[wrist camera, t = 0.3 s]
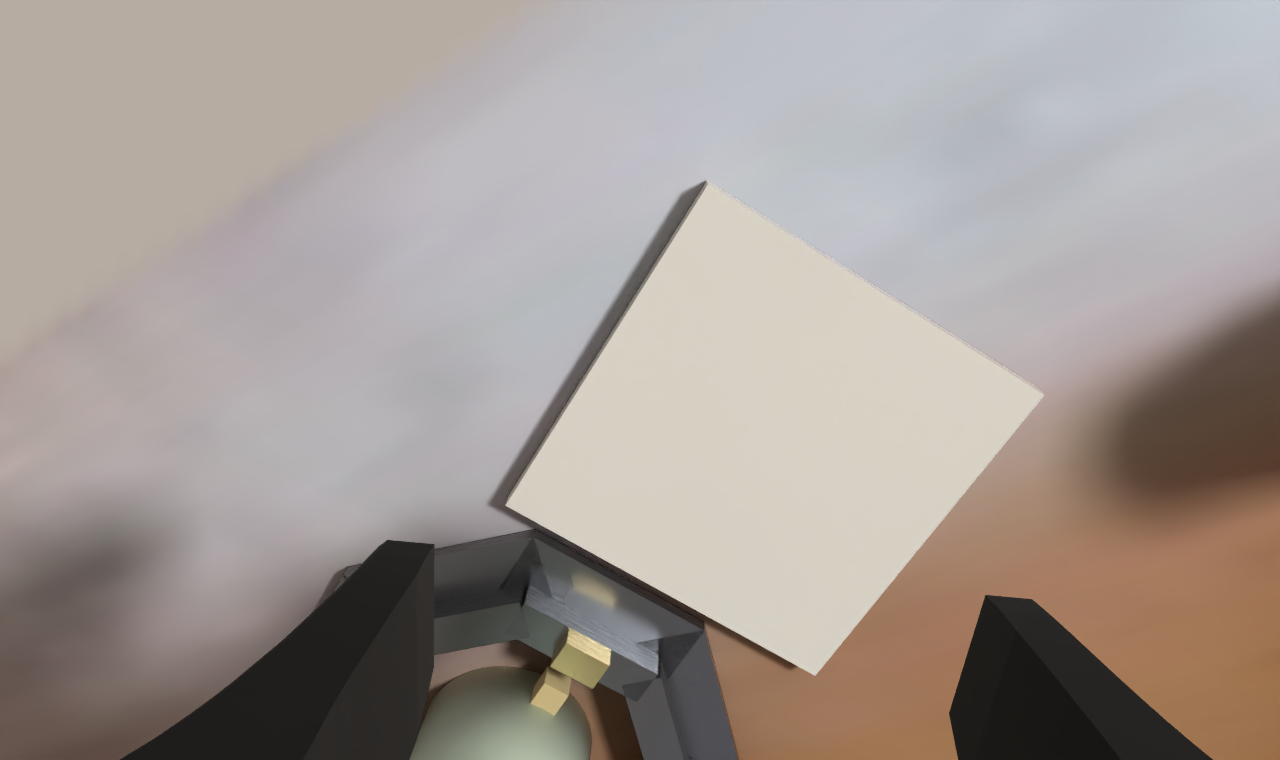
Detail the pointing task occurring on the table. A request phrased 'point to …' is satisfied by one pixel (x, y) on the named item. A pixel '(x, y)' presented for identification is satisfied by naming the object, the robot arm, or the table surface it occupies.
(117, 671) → the table surface
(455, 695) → the pale green jar
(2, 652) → the table surface
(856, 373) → the plate
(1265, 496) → the table surface
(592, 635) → the bayonet collar
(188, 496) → the table surface
